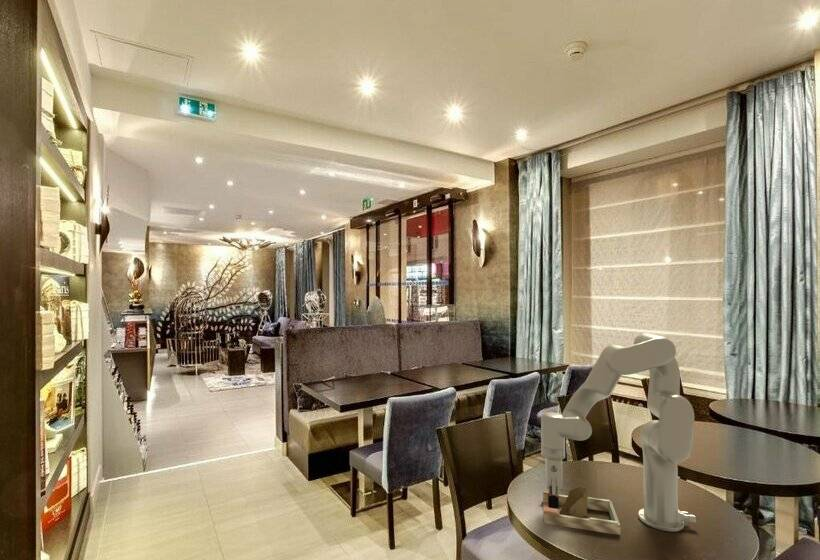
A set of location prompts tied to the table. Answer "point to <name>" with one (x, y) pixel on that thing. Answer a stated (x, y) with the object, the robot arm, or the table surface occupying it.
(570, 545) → the table surface
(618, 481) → the table surface
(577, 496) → the rock
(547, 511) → the pads
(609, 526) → the box
